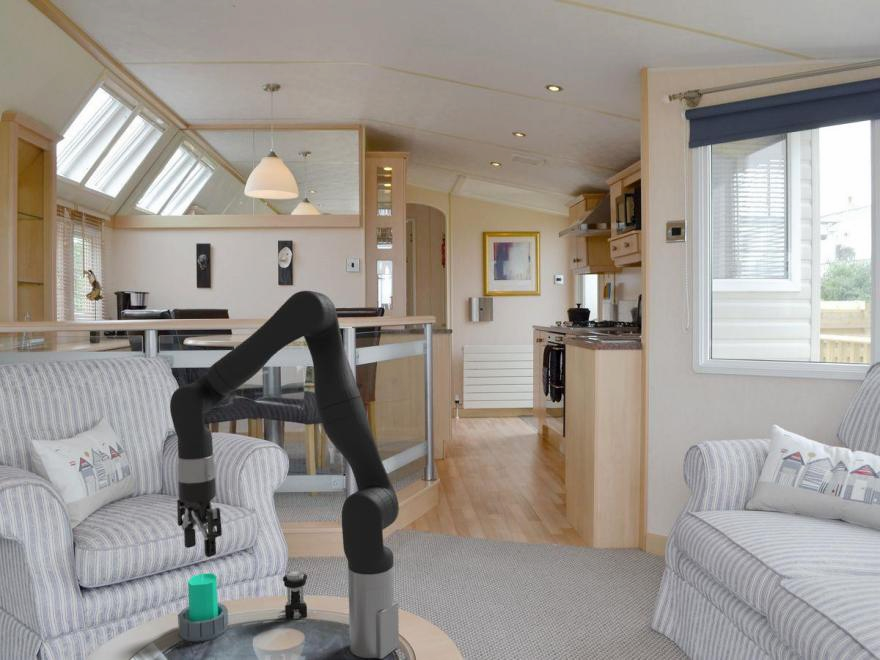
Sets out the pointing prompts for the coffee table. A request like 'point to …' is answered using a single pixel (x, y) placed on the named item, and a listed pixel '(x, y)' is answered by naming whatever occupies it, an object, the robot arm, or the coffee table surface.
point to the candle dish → (202, 626)
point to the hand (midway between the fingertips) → (200, 551)
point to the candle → (202, 597)
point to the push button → (294, 595)
